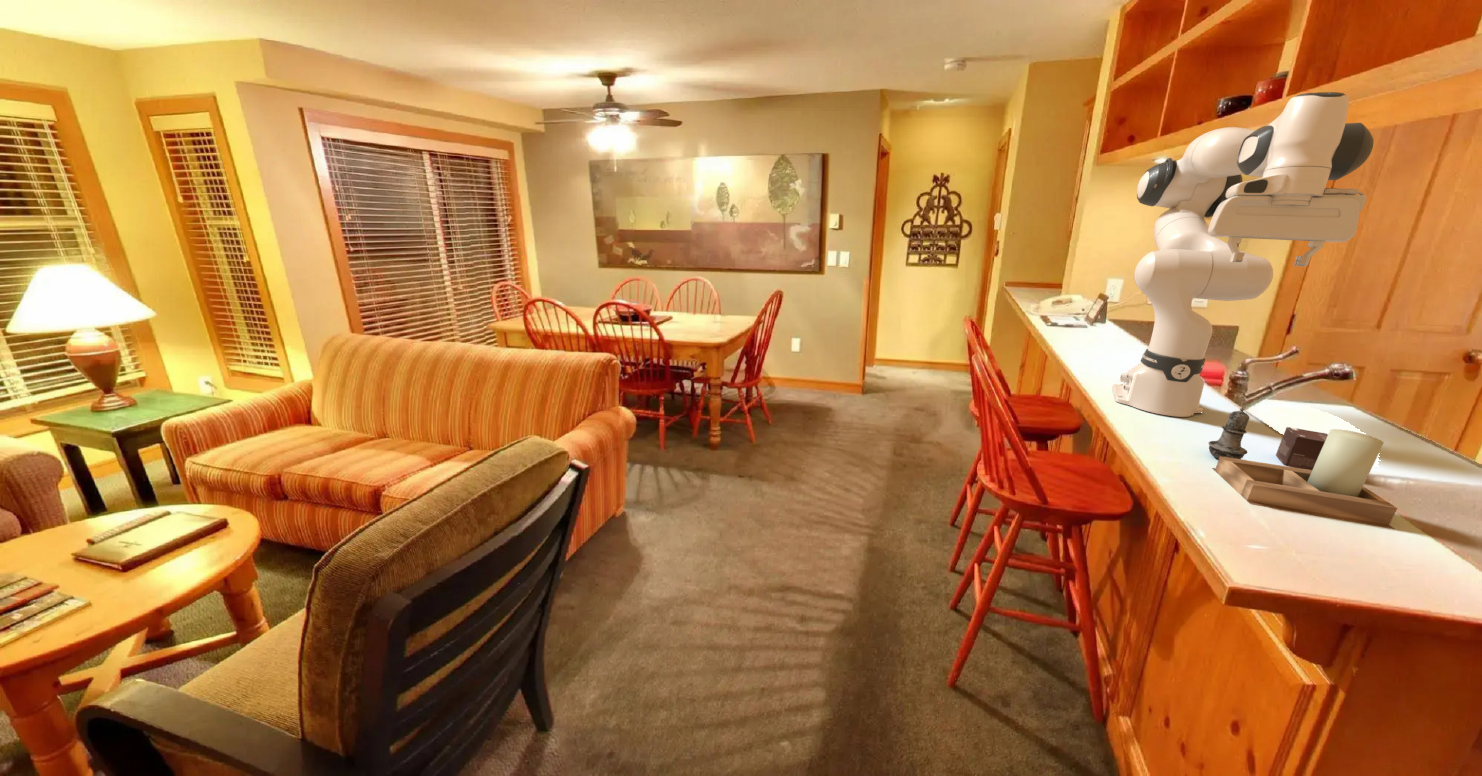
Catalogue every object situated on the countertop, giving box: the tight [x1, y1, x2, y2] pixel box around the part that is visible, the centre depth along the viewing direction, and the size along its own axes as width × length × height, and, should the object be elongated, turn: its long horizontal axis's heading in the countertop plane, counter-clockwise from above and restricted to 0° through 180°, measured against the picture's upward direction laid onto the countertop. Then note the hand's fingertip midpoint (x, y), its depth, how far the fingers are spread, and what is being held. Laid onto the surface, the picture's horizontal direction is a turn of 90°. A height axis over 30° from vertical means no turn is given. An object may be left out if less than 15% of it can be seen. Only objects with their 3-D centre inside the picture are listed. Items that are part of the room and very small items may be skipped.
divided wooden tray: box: [1211, 456, 1398, 530], centre depth 92 cm, size 14×18×4 cm
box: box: [1275, 426, 1329, 470], centre depth 104 cm, size 6×6×7 cm
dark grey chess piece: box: [1208, 407, 1250, 460], centre depth 104 cm, size 6×6×12 cm
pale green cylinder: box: [1307, 428, 1385, 497], centre depth 89 cm, size 6×6×12 cm
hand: (1267, 263), depth 102 cm, fingers open, 8 cm apart
